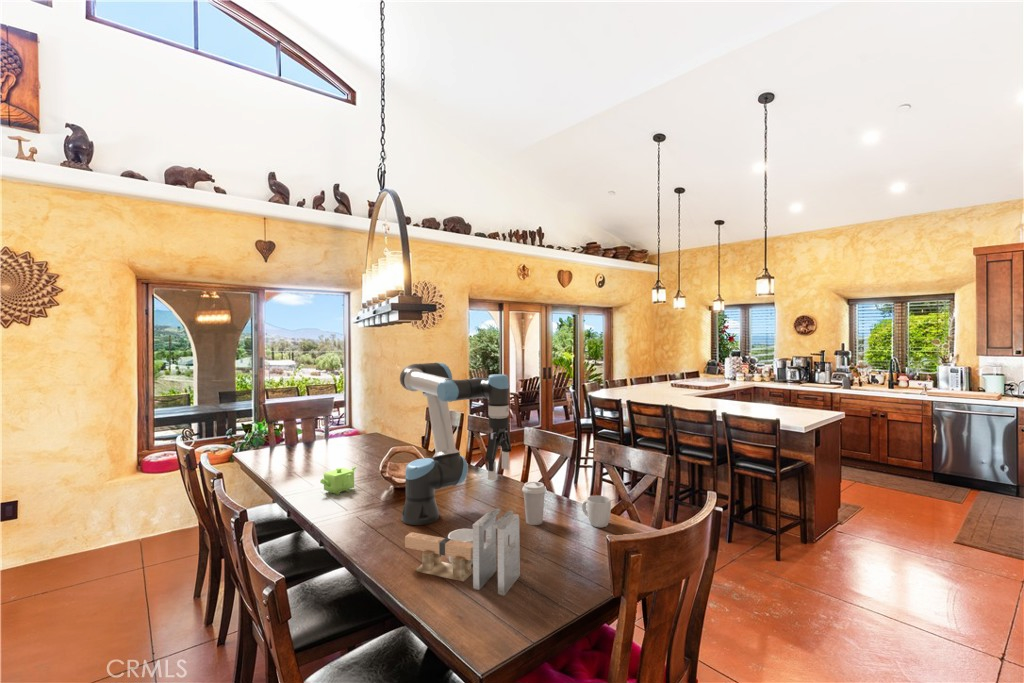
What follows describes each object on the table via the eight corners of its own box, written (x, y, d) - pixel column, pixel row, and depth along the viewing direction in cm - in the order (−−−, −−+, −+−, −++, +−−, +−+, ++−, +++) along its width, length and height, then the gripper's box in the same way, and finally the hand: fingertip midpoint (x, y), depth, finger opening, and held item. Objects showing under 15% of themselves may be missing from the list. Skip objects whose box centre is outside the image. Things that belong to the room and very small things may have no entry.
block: (404, 547, 152) (404, 536, 152) (411, 543, 155) (411, 531, 155) (470, 560, 143) (470, 548, 142) (476, 555, 146) (476, 543, 146)
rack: (416, 571, 148) (416, 552, 148) (428, 561, 155) (428, 543, 155) (463, 581, 142) (463, 561, 142) (474, 570, 148) (474, 552, 148)
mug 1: (466, 569, 149) (466, 544, 149) (441, 561, 155) (441, 537, 155) (490, 553, 160) (490, 529, 160) (466, 546, 166) (466, 523, 166)
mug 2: (615, 524, 183) (615, 499, 183) (601, 531, 178) (600, 505, 177) (590, 515, 193) (589, 491, 193) (575, 521, 187) (575, 496, 187)
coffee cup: (544, 527, 181) (544, 489, 181) (520, 525, 183) (520, 487, 183) (547, 518, 191) (547, 481, 191) (524, 516, 193) (524, 480, 193)
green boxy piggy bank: (357, 485, 235) (357, 463, 235) (353, 495, 221) (353, 471, 221) (326, 487, 232) (325, 465, 232) (320, 497, 218) (319, 473, 218)
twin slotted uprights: (473, 588, 138) (472, 521, 137) (490, 569, 149) (490, 507, 149) (504, 595, 134) (503, 526, 134) (519, 575, 145) (519, 511, 145)
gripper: (495, 423, 159) (495, 485, 159) (519, 411, 182) (519, 465, 182) (475, 422, 161) (475, 483, 161) (501, 410, 185) (501, 464, 185)
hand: (498, 474), depth 172 cm, fingers open, 13 cm apart
